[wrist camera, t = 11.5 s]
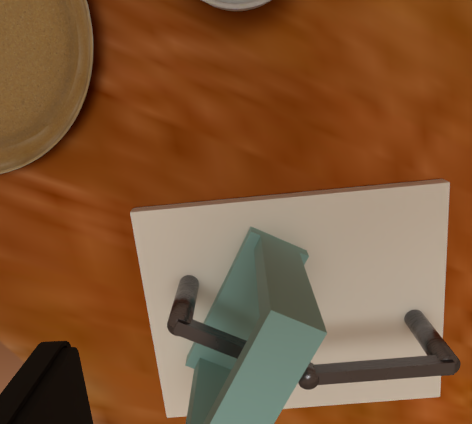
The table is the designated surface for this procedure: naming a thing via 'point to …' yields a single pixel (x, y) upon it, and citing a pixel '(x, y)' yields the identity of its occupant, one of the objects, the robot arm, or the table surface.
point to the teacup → (236, 4)
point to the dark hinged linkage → (433, 364)
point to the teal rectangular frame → (257, 335)
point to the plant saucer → (41, 75)
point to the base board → (310, 275)
